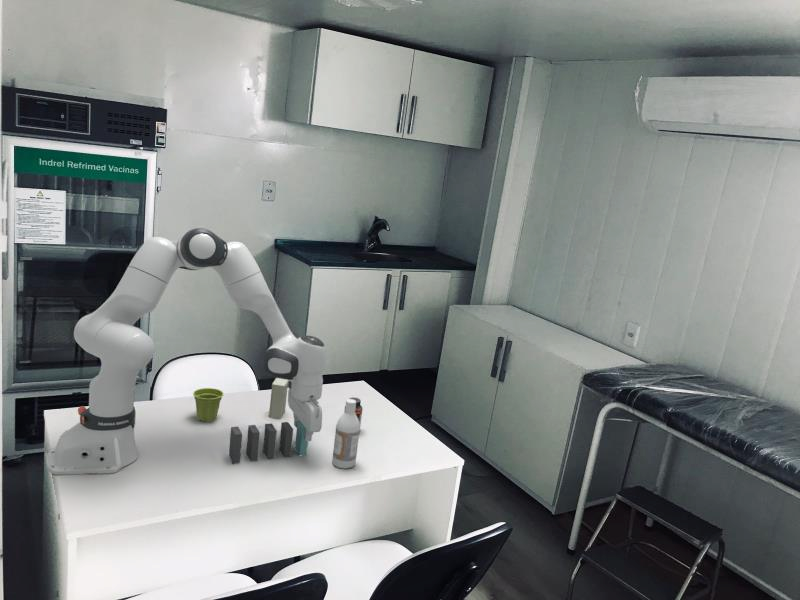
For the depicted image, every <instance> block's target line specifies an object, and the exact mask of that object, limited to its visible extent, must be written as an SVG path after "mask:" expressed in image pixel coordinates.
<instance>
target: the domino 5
mask: <svg viewBox="0 0 800 600" xmlns="http://www.w3.org/2000/svg"><path fill="white" fill-rule="evenodd" d="M306 432H307V431H306V428H305V426H304V425H303V424H302V422H301V421H298V422H297V428H296V433H295V441H294V450H295V449H296V450H295V451H296V452H297V454H298V456H300V455H304V456H307V451H308V443H309V441H306V440H305V439H304V435H305V434H306Z"/></svg>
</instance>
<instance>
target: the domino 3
mask: <svg viewBox="0 0 800 600" xmlns="http://www.w3.org/2000/svg"><path fill="white" fill-rule="evenodd" d="M277 430H278V429H276V428H275V425H273V423H265V424H264V431H263V433H264V434H263V445H262V454H263V455H264V456H265V458H266V460H267V461H269V460H274V459H275V453H276V443H277V442H276V441H277V432H278V431H277Z"/></svg>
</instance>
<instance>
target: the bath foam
mask: <svg viewBox="0 0 800 600" xmlns="http://www.w3.org/2000/svg"><path fill="white" fill-rule="evenodd" d="M345 405H346V407H345V406H344V410H345V412H344V411H343V413H342V414H341V415H340V416H339V418H338V420H337V422H336V425H335V426H336V427H335V432H334V433H335V435H334V443H333V449H332V451H333V452H332V461H331V463H332V464H333V465H334V466H335V467H336V468H339V469H345V470H346V469H351V468H354V467H355V466H356V462H357V461H356V460H357V454H358V448H359V447H358V445H359V437H360V430H361V424H359V420H358V418H357V416H356V414H355V408H356V401H355V400H353V399H349V398H347V399H346V401H345Z"/></svg>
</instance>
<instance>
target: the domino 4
mask: <svg viewBox="0 0 800 600" xmlns="http://www.w3.org/2000/svg"><path fill="white" fill-rule="evenodd" d="M280 424H281V425H280V435H279V445H278V446H279V447H278V452H280V454H281V456H282V457H283V458H284V459H285V458H291V454H292V447H293V435H294V427H292V426H291V424H290V422H289V421H285V422H281V423H280Z"/></svg>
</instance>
